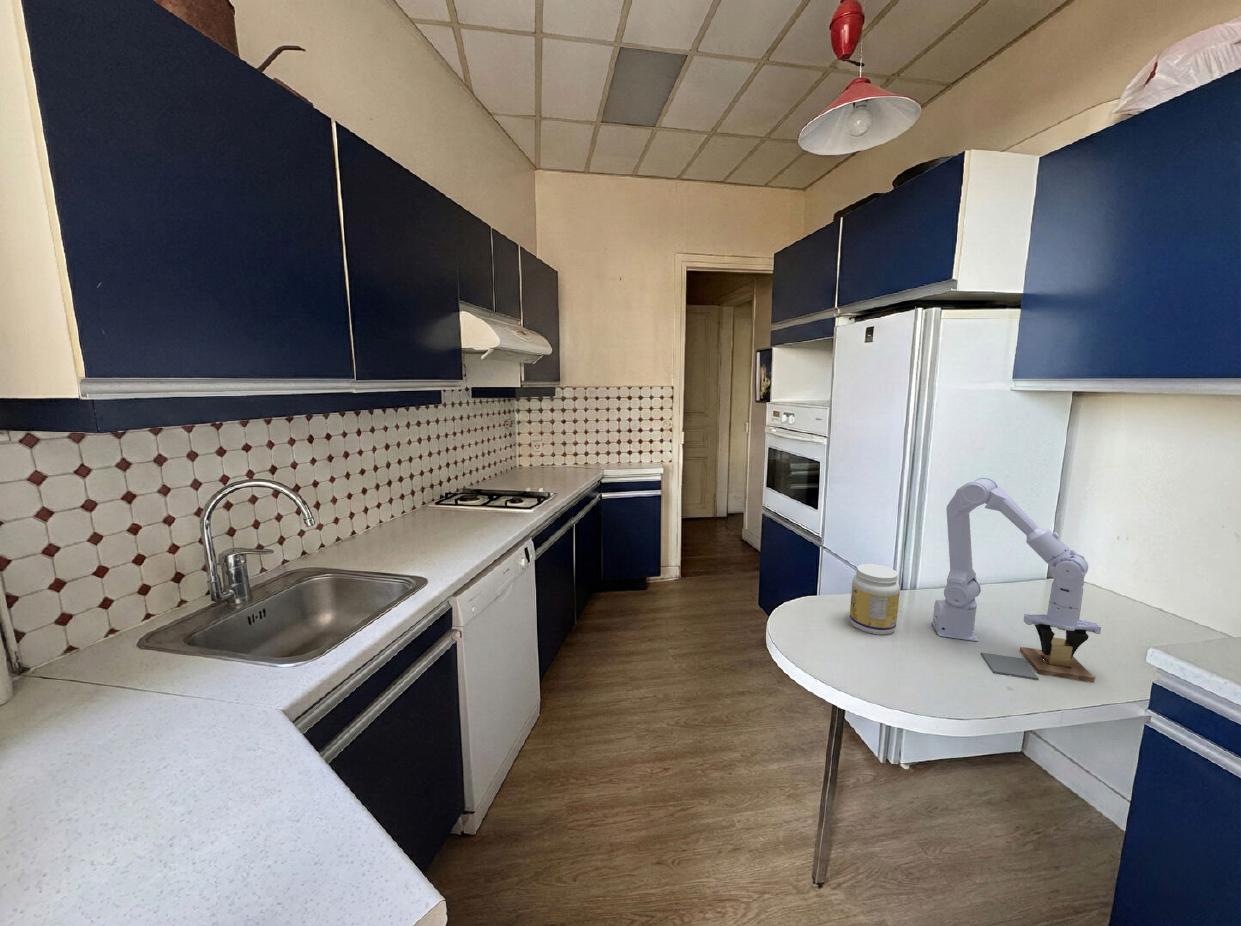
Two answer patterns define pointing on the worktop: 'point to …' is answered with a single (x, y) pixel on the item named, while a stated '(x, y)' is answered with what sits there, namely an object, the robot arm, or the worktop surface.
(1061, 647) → the brass plug
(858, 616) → the supplement tub
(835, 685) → the worktop surface
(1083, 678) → the walnut square frame
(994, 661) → the charcoal mat
